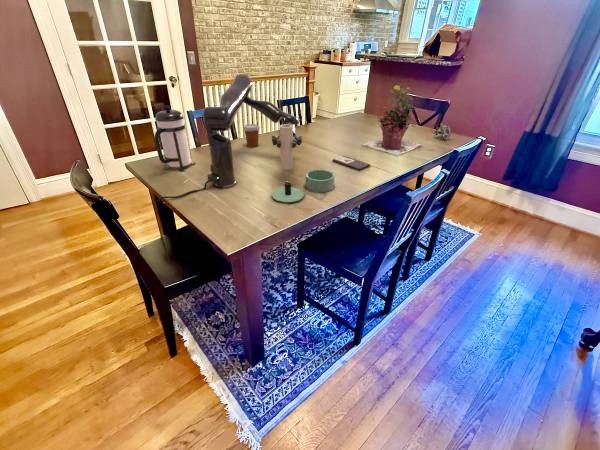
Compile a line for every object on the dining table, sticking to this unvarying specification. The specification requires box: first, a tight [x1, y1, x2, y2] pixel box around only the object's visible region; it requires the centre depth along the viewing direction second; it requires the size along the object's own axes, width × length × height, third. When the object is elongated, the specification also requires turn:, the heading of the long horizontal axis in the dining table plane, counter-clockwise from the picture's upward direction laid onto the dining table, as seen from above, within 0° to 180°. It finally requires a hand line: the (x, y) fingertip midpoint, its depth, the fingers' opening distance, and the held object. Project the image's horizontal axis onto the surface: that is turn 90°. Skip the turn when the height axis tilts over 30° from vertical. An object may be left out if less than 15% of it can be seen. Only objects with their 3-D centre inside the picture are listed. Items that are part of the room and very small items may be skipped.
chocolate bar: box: [332, 155, 371, 172], centre depth 161 cm, size 9×1×18 cm
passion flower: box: [432, 122, 452, 141], centre depth 199 cm, size 11×11×12 cm
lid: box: [271, 181, 305, 203], centre depth 127 cm, size 14×14×6 cm
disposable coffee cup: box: [243, 123, 260, 148], centre depth 184 cm, size 10×10×12 cm
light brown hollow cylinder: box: [279, 124, 294, 171], centre depth 130 cm, size 5×5×18 cm
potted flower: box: [362, 82, 422, 157], centre depth 178 cm, size 27×25×35 cm
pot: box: [305, 169, 335, 193], centre depth 136 cm, size 13×13×6 cm
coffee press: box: [154, 104, 196, 172], centre depth 148 cm, size 17×16×30 cm
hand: (286, 145), depth 127 cm, fingers closed on light brown hollow cylinder, 5 cm apart
